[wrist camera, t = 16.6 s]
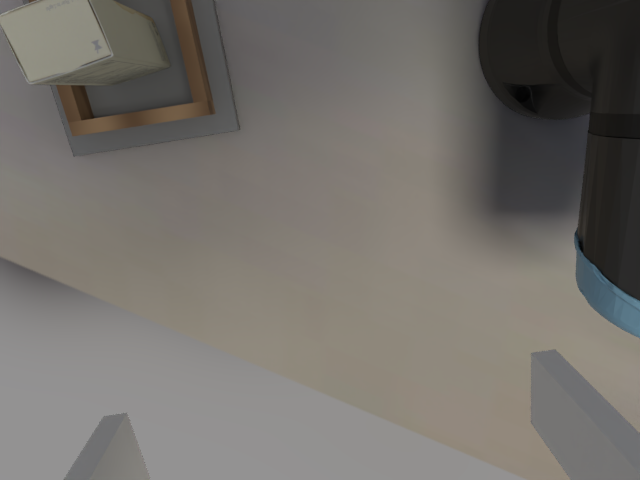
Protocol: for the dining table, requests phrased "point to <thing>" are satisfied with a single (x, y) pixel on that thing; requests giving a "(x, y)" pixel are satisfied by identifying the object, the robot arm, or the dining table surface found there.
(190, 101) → the slate tray
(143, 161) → the dining table surface
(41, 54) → the skincare box
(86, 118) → the walnut collar
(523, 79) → the robot arm
